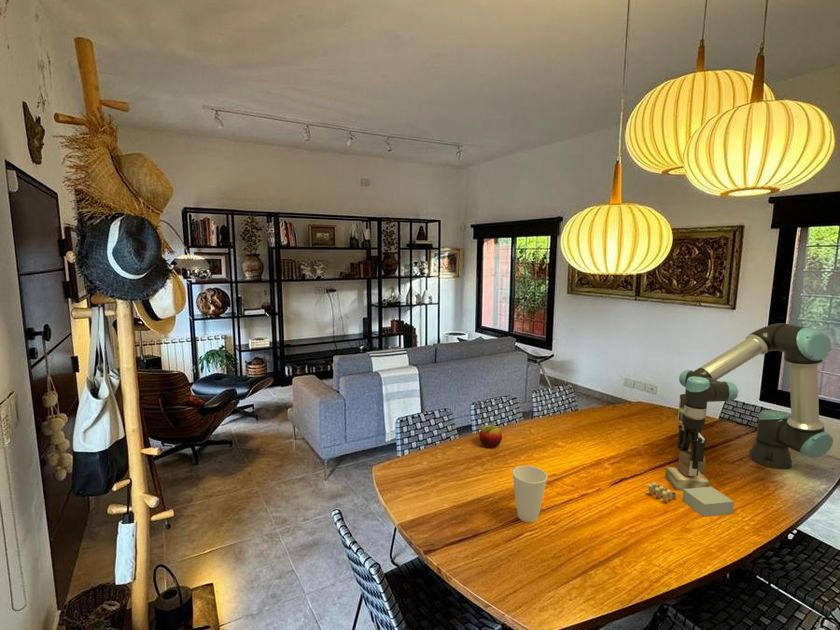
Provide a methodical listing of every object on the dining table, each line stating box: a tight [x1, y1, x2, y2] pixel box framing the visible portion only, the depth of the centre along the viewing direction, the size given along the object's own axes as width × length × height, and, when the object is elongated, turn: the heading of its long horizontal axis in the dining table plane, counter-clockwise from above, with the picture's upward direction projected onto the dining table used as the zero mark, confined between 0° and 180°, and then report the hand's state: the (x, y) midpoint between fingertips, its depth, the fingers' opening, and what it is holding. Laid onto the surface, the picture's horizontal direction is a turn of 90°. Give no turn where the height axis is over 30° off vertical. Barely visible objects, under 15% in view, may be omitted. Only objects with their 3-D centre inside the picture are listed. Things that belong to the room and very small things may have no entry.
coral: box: [688, 448, 707, 474], centre depth 190 cm, size 9×9×8 cm
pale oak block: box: [664, 466, 710, 492], centre depth 177 cm, size 12×10×5 cm
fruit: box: [478, 424, 503, 449], centre depth 210 cm, size 11×11×10 cm
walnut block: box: [677, 450, 699, 476], centre depth 176 cm, size 5×5×8 cm
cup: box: [511, 465, 548, 523], centre depth 154 cm, size 12×12×16 cm
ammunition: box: [647, 481, 678, 503], centre depth 168 cm, size 5×7×8 cm
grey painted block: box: [681, 486, 735, 517], centre depth 162 cm, size 12×10×5 cm
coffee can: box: [677, 393, 685, 424], centre depth 241 cm, size 10×10×14 cm
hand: (687, 471), depth 177 cm, fingers closed on walnut block, 5 cm apart
